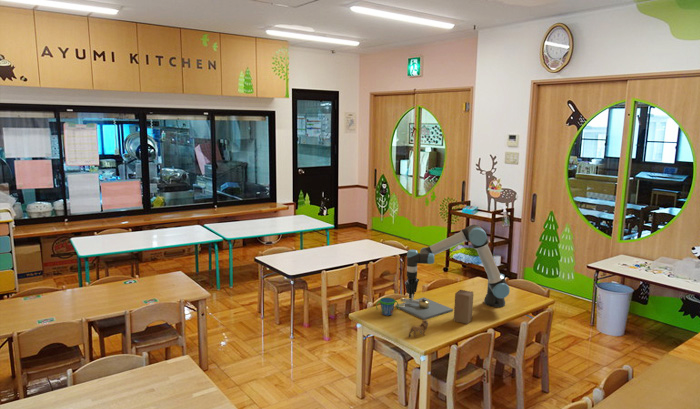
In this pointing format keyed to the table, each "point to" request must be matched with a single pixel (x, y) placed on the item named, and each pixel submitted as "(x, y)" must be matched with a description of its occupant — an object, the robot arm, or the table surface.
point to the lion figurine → (419, 328)
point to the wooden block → (463, 306)
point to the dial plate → (424, 309)
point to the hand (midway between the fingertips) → (411, 302)
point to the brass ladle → (417, 302)
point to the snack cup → (387, 305)
